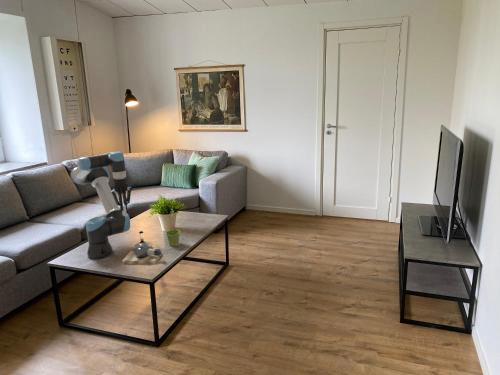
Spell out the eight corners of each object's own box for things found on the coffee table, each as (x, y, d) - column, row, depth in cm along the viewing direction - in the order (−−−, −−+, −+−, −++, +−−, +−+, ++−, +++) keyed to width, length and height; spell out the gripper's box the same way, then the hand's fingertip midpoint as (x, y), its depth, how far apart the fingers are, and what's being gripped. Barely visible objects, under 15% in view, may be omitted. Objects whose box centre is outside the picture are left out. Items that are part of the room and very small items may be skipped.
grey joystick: (148, 227, 248) (133, 229, 246) (149, 232, 239) (132, 234, 236) (150, 244, 252) (135, 246, 249) (151, 250, 242) (135, 252, 240)
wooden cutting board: (122, 263, 225) (122, 260, 224) (131, 253, 238) (130, 250, 238) (156, 263, 223) (155, 260, 223) (162, 253, 237) (162, 250, 236)
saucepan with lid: (133, 257, 227) (131, 246, 226) (139, 251, 235) (138, 241, 233) (157, 259, 224) (155, 248, 222) (163, 253, 231) (162, 242, 229)
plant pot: (182, 246, 247) (180, 233, 245) (167, 248, 244) (166, 235, 242) (180, 240, 256) (179, 228, 253) (166, 242, 253) (165, 230, 251)
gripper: (111, 181, 216) (116, 219, 223) (132, 176, 225) (137, 214, 231) (106, 178, 222) (111, 216, 228) (127, 174, 230) (132, 211, 236)
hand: (124, 215), depth 229 cm, fingers closed
